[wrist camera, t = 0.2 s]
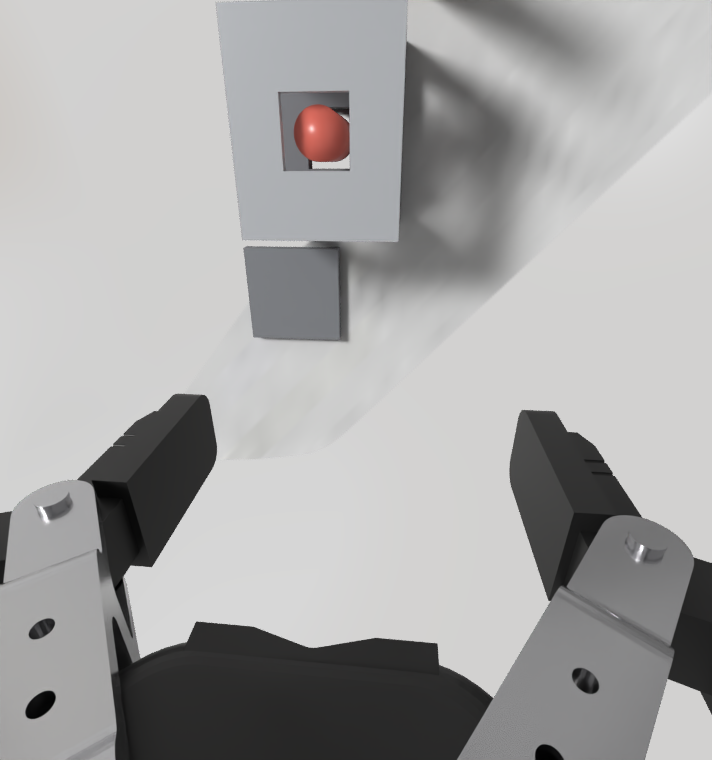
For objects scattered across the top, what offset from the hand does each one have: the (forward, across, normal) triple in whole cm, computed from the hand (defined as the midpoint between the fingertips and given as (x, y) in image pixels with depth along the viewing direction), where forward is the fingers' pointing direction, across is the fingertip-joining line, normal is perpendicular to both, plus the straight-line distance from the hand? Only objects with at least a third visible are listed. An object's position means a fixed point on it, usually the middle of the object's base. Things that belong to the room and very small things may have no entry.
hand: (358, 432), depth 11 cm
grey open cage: (+28, +4, -8) cm, 30 cm away
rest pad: (+28, +8, +4) cm, 30 cm away
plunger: (+27, +4, -8) cm, 28 cm away
